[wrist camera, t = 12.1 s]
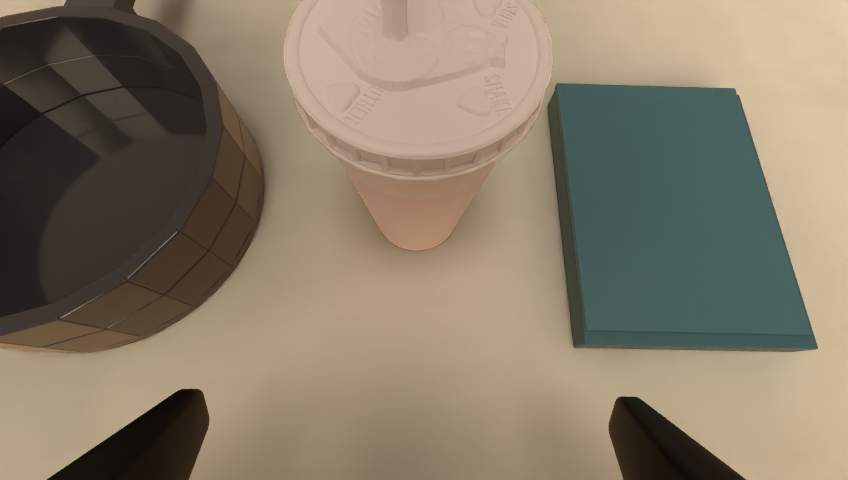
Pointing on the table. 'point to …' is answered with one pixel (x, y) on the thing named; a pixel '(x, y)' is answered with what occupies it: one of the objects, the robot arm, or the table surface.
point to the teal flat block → (670, 223)
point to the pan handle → (104, 4)
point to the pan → (113, 180)
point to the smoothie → (418, 99)
